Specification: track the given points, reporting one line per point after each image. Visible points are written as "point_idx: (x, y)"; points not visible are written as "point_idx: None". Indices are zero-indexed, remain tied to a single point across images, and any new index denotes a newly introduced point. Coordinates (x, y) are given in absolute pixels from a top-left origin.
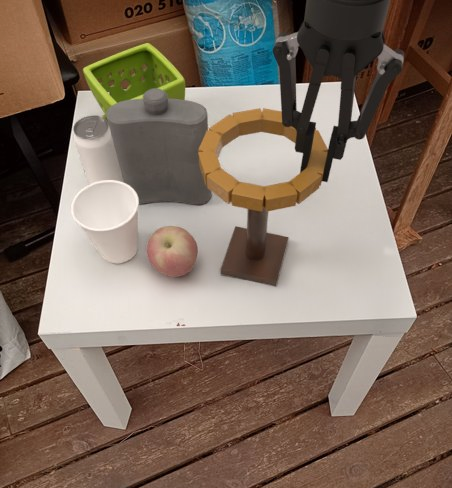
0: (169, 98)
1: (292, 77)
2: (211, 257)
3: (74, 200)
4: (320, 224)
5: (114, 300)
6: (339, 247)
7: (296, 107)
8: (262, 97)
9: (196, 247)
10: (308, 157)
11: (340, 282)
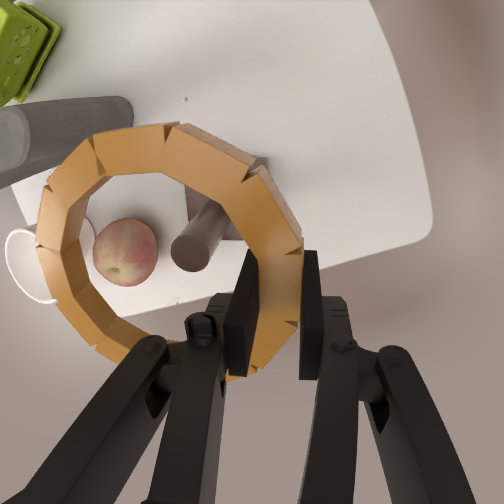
0: (8, 45)
1: (105, 493)
2: (173, 212)
3: (10, 269)
4: (309, 110)
5: (109, 290)
6: (345, 148)
7: (161, 354)
8: None
9: (147, 249)
10: (255, 331)
11: (353, 209)
